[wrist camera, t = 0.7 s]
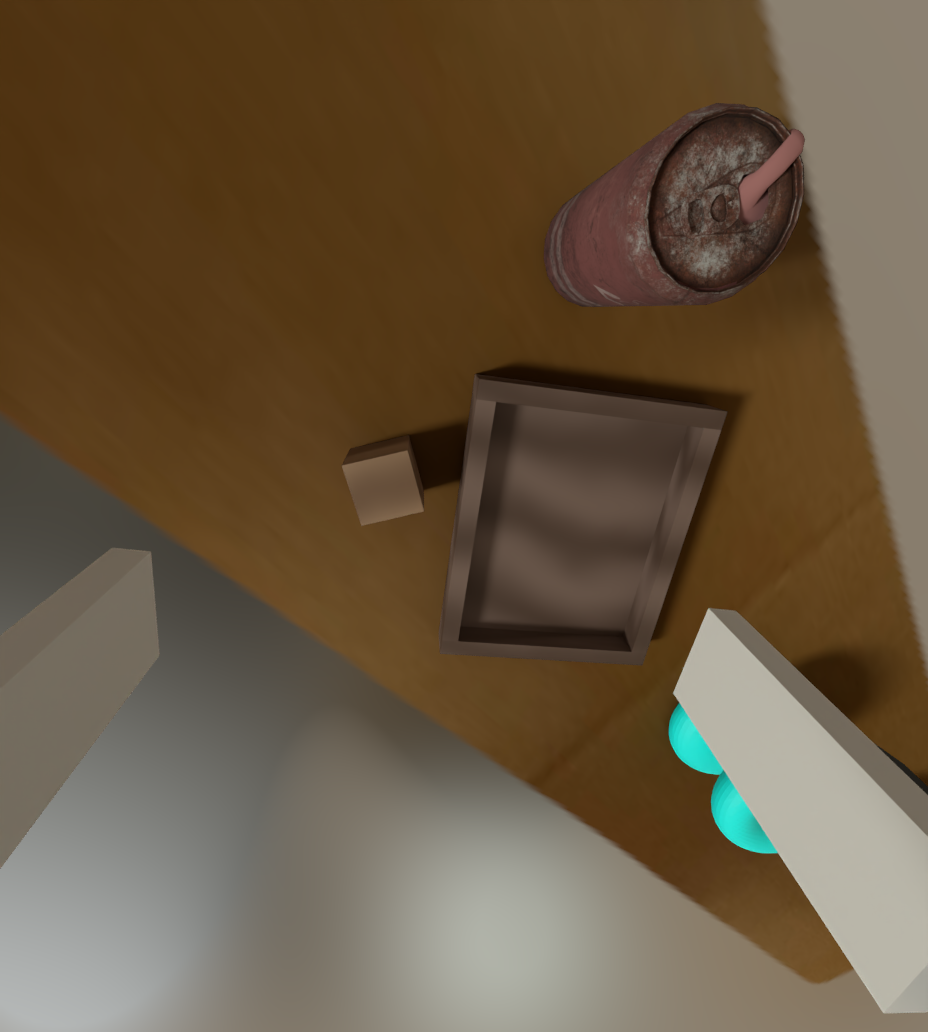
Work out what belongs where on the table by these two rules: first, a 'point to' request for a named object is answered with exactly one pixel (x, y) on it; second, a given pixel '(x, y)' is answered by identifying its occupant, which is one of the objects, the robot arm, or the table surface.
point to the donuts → (718, 786)
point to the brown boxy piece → (384, 480)
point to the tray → (570, 519)
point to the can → (682, 214)
